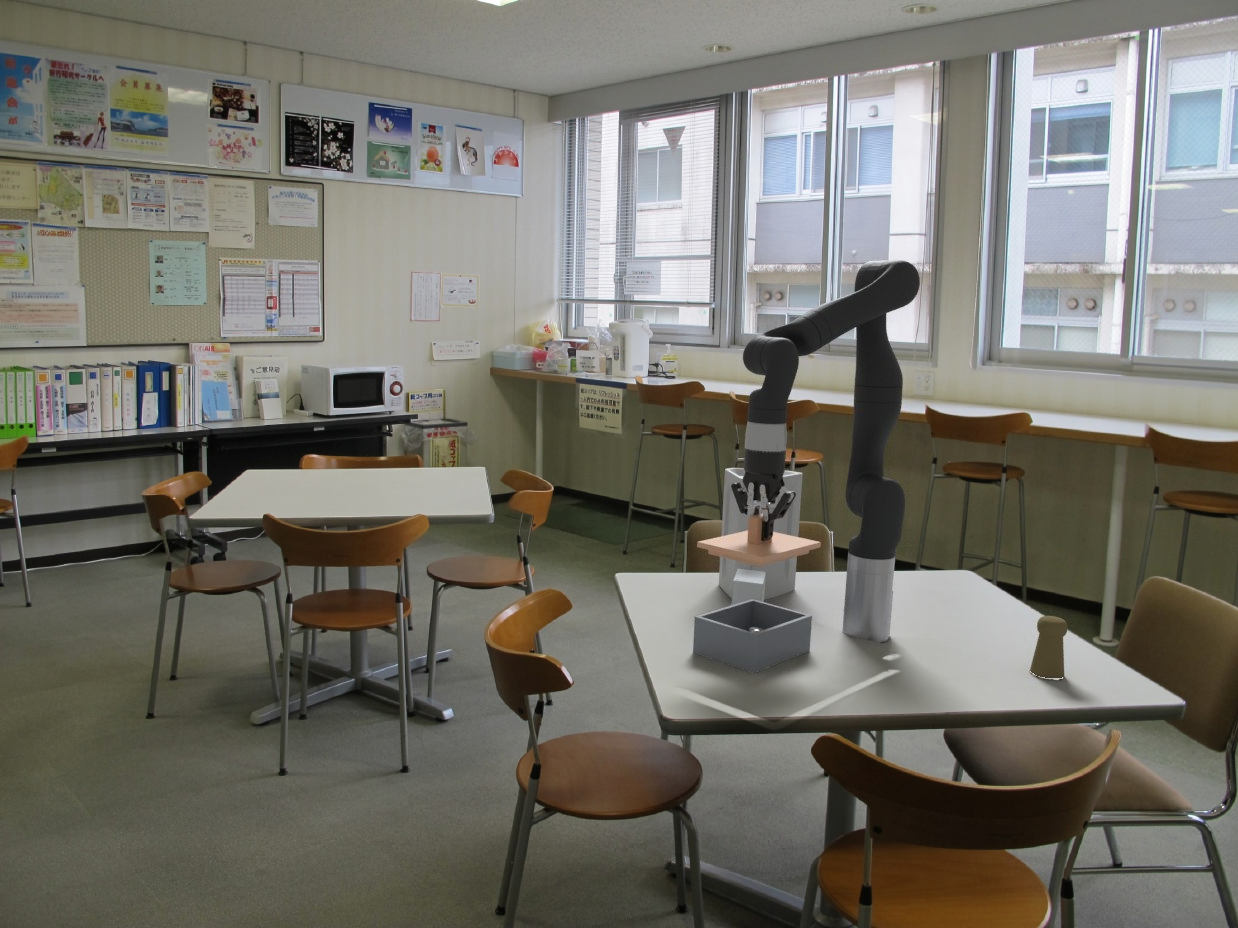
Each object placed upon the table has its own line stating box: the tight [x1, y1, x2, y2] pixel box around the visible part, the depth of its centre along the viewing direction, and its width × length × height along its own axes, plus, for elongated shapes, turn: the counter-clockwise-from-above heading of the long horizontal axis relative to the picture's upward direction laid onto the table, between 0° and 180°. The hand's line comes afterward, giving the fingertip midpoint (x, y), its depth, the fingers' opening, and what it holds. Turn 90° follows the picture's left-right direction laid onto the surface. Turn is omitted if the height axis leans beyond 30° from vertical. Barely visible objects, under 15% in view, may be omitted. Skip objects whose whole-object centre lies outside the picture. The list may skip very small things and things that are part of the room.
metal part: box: [749, 627, 764, 633], centre depth 193 cm, size 3×3×3 cm
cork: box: [1029, 615, 1068, 678], centre depth 185 cm, size 6×6×11 cm
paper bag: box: [718, 467, 804, 601], centre depth 233 cm, size 19×15×28 cm
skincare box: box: [730, 569, 766, 606], centre depth 209 cm, size 10×6×10 cm, turn 168°
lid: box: [696, 514, 822, 566], centre depth 185 cm, size 19×15×7 cm
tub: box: [692, 599, 813, 674], centre depth 189 cm, size 18×14×8 cm
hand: (760, 538), depth 186 cm, fingers closed on lid
